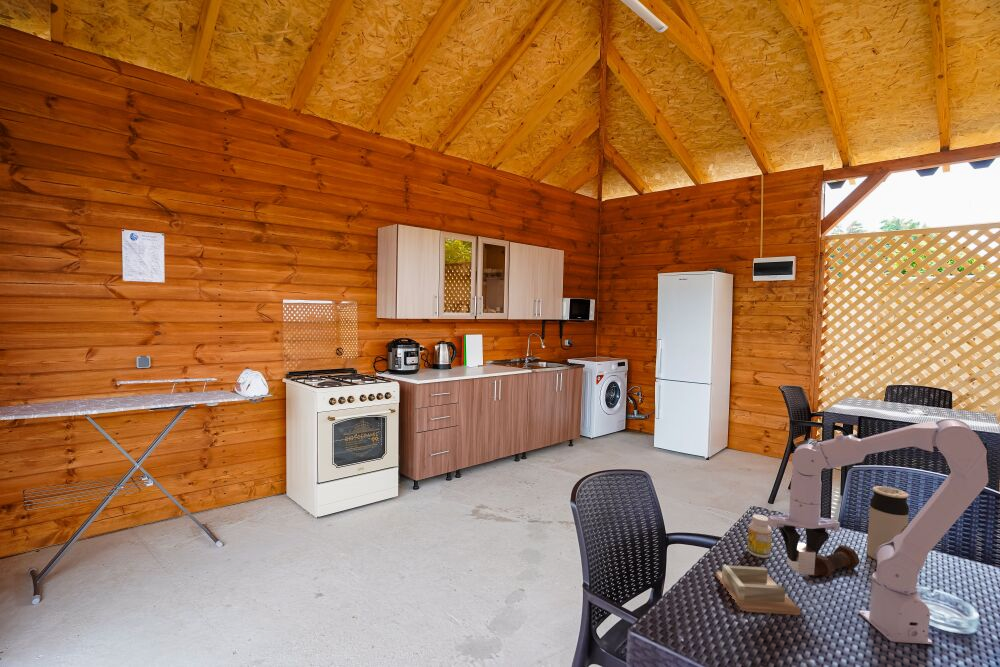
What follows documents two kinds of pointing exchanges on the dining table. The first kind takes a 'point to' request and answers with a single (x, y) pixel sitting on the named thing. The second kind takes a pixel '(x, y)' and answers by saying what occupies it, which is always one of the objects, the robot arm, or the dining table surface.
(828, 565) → the bolt
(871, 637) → the dining table surface
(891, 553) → the robot arm
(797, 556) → the link block
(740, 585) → the keeper cradle
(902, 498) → the travel mug
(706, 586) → the dining table surface
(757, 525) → the supplement bottle
